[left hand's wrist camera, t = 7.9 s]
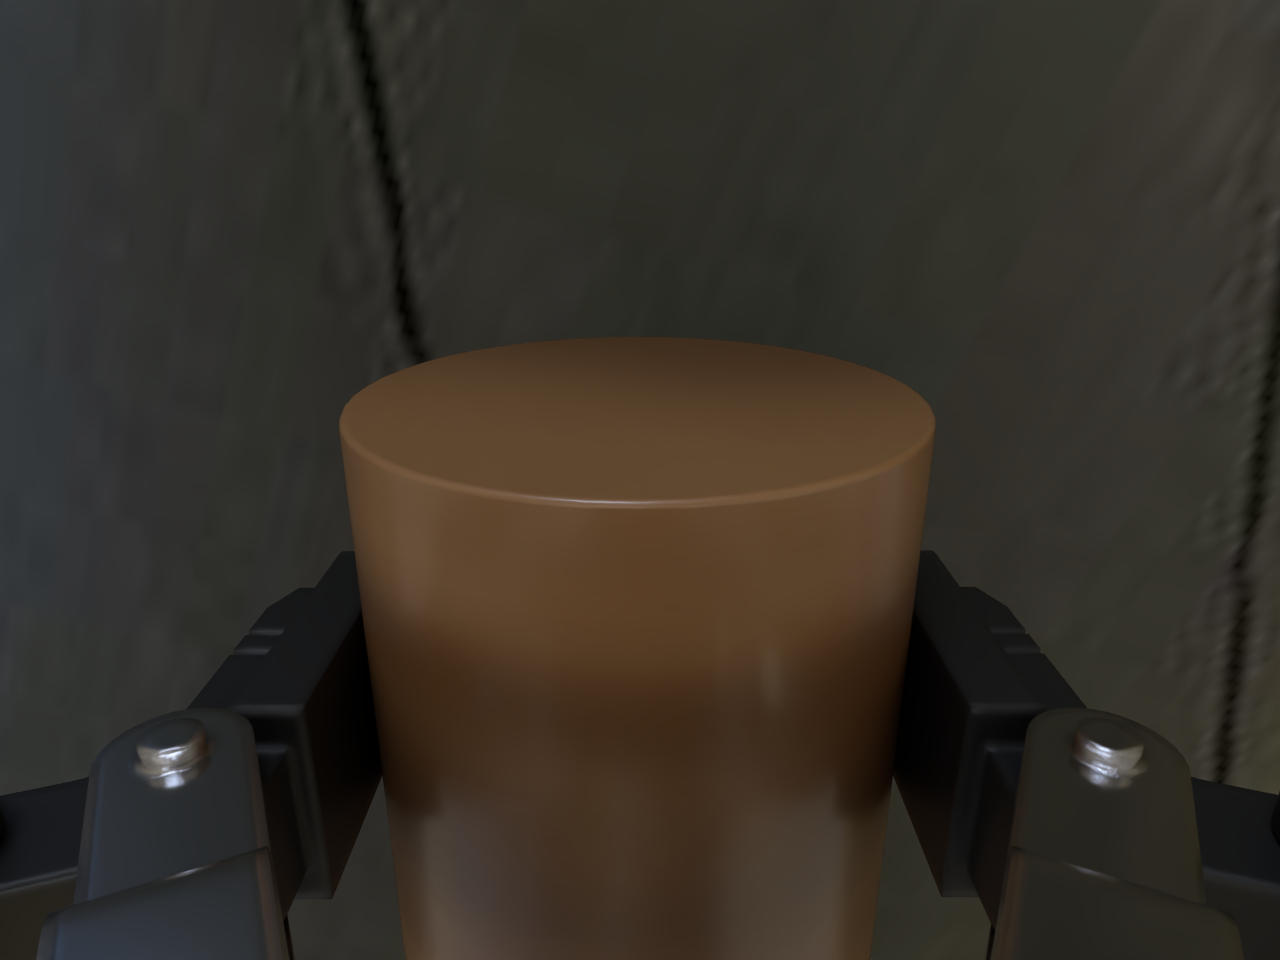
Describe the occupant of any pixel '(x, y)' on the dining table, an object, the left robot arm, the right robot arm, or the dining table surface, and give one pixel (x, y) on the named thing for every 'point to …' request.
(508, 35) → the dining table surface
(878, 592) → the rod
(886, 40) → the dining table surface
